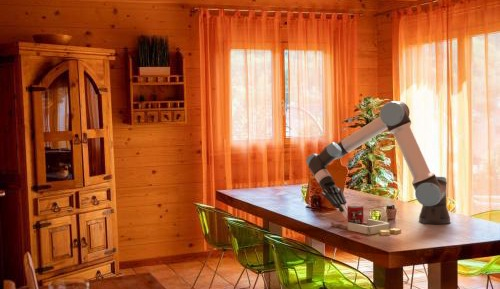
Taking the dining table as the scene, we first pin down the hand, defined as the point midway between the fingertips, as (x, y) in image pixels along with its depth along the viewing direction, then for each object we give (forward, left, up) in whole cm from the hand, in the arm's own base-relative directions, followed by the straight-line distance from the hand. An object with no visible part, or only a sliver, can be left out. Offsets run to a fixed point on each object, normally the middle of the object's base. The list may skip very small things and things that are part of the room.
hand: (347, 216), depth 300 cm
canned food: (+2, +5, -5) cm, 7 cm away
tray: (+6, +12, -5) cm, 14 cm away
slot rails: (0, +1, -5) cm, 5 cm away
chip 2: (+8, +25, -5) cm, 27 cm away
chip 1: (+13, +21, -5) cm, 26 cm away
